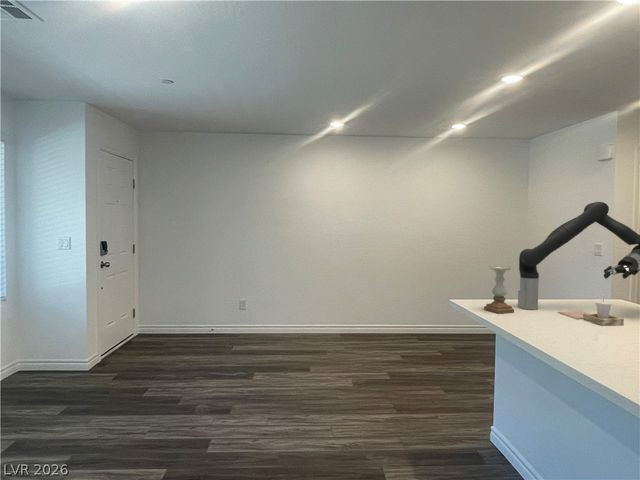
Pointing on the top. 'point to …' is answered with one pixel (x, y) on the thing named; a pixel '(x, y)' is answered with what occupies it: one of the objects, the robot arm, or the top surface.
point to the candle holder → (499, 293)
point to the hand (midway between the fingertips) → (614, 277)
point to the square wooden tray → (603, 320)
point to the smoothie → (603, 309)
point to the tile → (574, 314)
